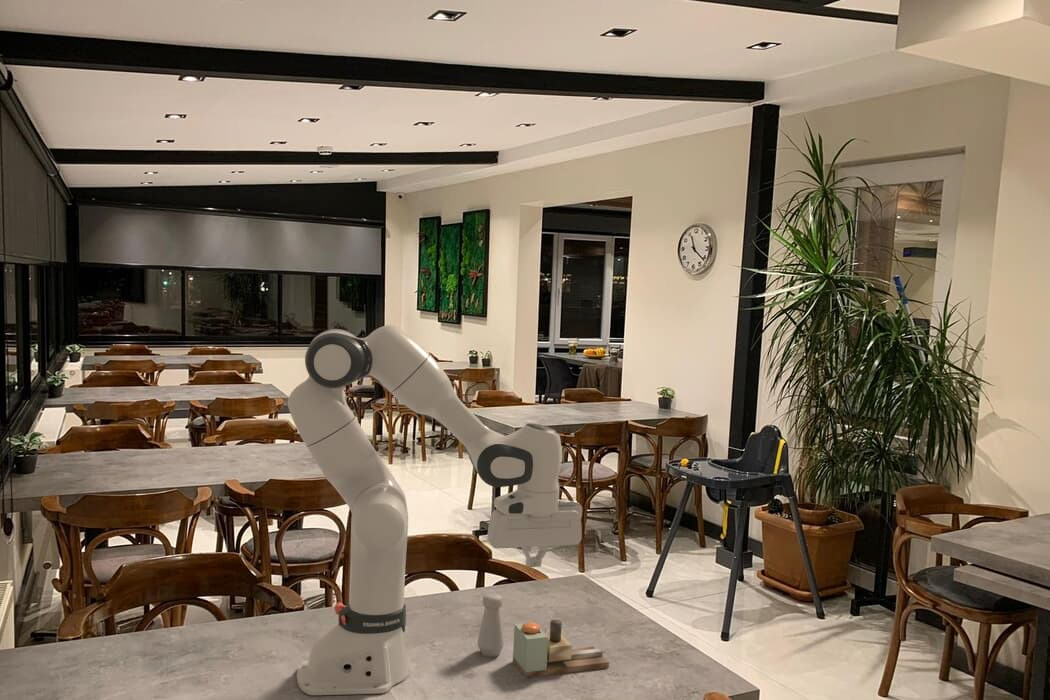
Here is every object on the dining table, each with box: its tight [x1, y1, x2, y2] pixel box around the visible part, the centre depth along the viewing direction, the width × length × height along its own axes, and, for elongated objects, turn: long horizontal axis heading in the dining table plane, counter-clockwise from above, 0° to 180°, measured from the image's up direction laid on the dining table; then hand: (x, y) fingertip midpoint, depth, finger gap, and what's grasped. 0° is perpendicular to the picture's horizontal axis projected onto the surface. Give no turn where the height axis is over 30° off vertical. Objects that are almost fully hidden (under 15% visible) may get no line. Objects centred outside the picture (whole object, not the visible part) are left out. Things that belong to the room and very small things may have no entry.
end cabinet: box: [512, 621, 548, 672], centre depth 173 cm, size 5×8×7 cm, turn 20°
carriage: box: [546, 619, 573, 662], centre depth 175 cm, size 5×6×7 cm
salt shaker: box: [477, 593, 505, 658], centre depth 179 cm, size 6×6×13 cm
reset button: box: [522, 622, 541, 634], centre depth 173 cm, size 4×4×5 cm
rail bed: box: [512, 646, 610, 679], centre depth 176 cm, size 19×8×2 cm, turn 110°
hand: (533, 566), depth 172 cm, fingers closed
